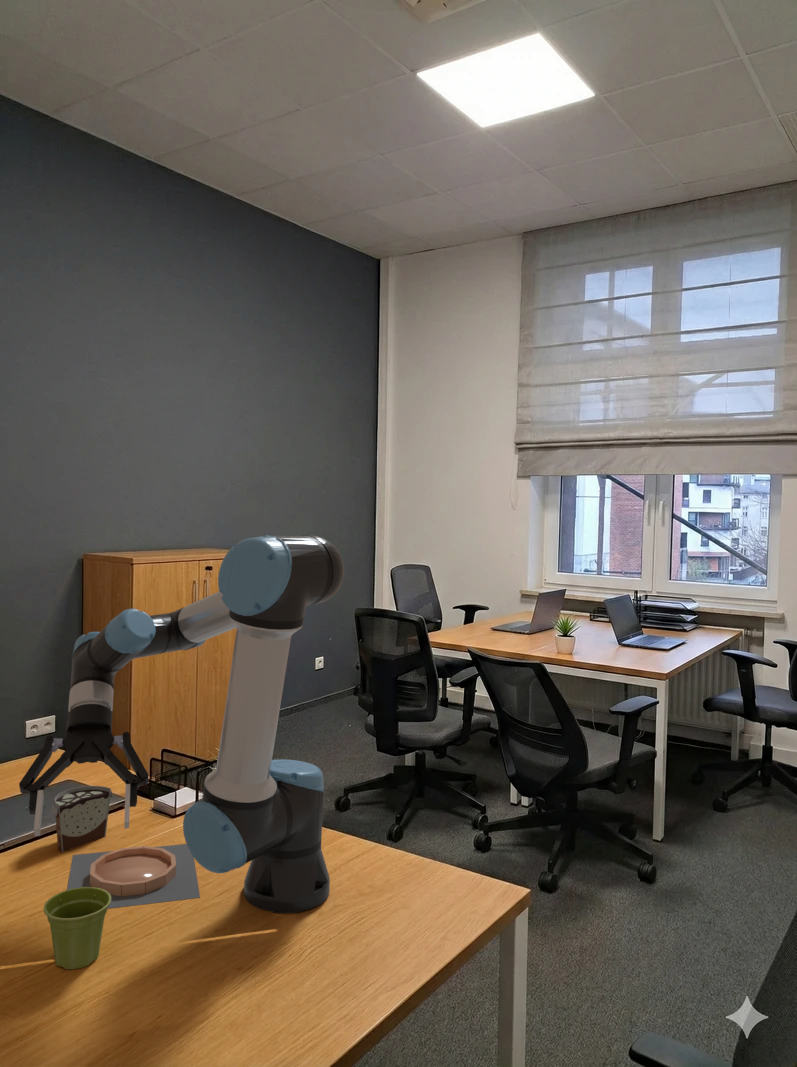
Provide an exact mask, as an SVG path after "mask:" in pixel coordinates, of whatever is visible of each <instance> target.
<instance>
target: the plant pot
mask: <svg viewBox="0 0 797 1067" xmlns="http://www.w3.org/2000/svg"><path fill="white" fill-rule="evenodd" d="M110 903H111V895H110V894H109V893H108V892H107V891H106V890H104V889H101V888H96V887H80V888H74V889H70V890H67V889H66V890H63V891H61V892H58V893H56V894H54V895H52V896H51V897H50V898H48V900H46V902H45V903H44V905H43V913H44V915H45V916H46V918H47V921H48V923H49V928H50V934H51V939H52V940H51V942H52V948H53V955H54V956H53V957H54V963H55V965H56V967H57V966H58V967H62V968H64V969H65V970H76V969H81V968H85V967H87V966H90V965H89V964H91V963H92V962H93V961H96V960H97V959H98V957H99V956H100V950H101V942H102V941H101V940H102V934H103V930H104V924H105V916H106V914H107V912H108V909H107V908H108V906H109V905H110Z"/></svg>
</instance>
